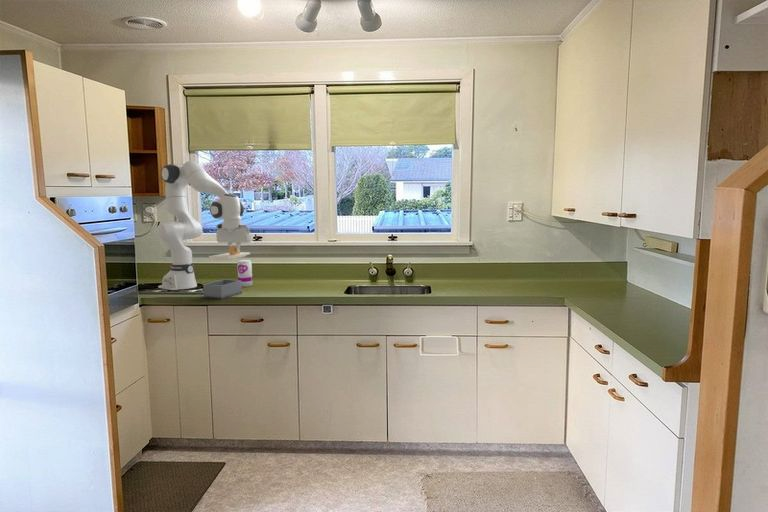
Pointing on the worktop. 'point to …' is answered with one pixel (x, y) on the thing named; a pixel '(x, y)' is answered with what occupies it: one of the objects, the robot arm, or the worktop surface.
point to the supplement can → (245, 272)
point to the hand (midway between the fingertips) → (234, 251)
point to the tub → (222, 288)
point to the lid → (230, 254)
